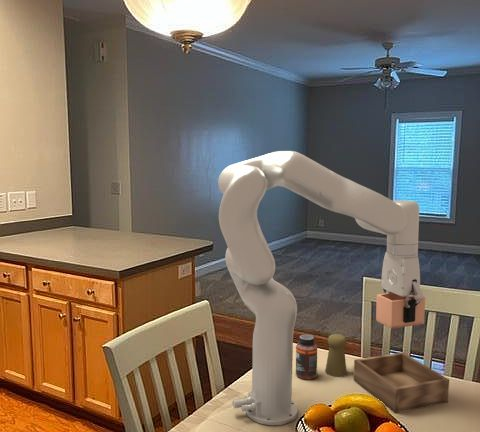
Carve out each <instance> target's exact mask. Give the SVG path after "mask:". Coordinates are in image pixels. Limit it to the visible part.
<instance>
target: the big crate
mask: <svg viewBox="0 0 480 432" xmlns="http://www.w3.org/2000/svg"><path fill="white" fill-rule="evenodd" d="M353 363H354V364H353V381H354V382H355V383H356V384H357V385H358V386H360V387H361V388H362V389H364V390H365V391H366V392H368V394H369V395H371V396H372V397H374V398H375V399H376V398H377V399H376V400H378V399H379V400H380V401H382V402H383V403H384V404H385V405H384V404H383V403H382V404H383V405H384V406H385V407H386V408H388V409H389V410H390V411H392V412H393V413H394V414H397V413H402V412H406V411H412V410H416V409H423V408H427V407H432V406H437V405H443V404H447V403H448V402H449V389H450V379H448V378H447V377H445V376H443V375H442V374H440V373H439V372H437V371H435V370H434V369H431V368H430V367H428V366H427V365H426V364H423V362H421V361H419V360H417V359H415V358H414V357H412V356H410V355H408V354H406V353H405V352H395V353H390V354H384V355H377V356H371V357H370V356H369V357H364V358H357V359H354V362H353ZM379 400H378V401H379ZM380 401H379V402H380Z"/></svg>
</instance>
